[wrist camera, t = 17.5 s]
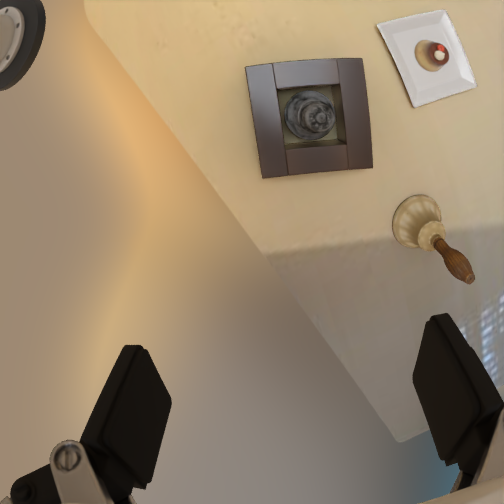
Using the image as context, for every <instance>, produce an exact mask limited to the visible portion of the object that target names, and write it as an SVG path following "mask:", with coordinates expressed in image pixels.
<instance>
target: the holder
mask: <svg viewBox="0 0 504 504" xmlns="http://www.w3.org/2000/svg"><path fill="white" fill-rule="evenodd" d="M245 71H246V77H247V83H248V90H249V96H250V102H251V109H252V115H253V121H254V128H255V134H256V141H257V148H258V154H259V161H260V168H261V175H262V179H264V178H272V177H281V176H288V175H289V176H290V175H299V174H308V173H318V172H329V171H340V170H348V169H349V170H353V169H367V168H373V158H372V142H371V129H370V118H369V107H368V98H367V90H366V82H365V74H364V67H363V60H362V58H337V59H336V58H333V59H312V60H298V61H287V62H277V63H273V64H272V63H269V64H261V65H253V66H246V67H245ZM323 86H332V94H333V101H334V109H335V116H336V117H335V118H336V128H337V138H338V140H324V141H313V142H302V143H292V144H284V137H283V130H282V122H281V115H280V108H279V101H278V95H277V90H286V89H297V88H308V87H323Z"/></svg>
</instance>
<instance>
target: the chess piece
mask: <svg viewBox="0 0 504 504" xmlns="http://www.w3.org/2000/svg"><path fill="white" fill-rule="evenodd" d="M284 116H285V122H286V124H287V126H288V128H289V129H290V130H291V132H292V133H294V134H295V135H296V136H298V137H300V138H302V139H307V140H315V139H319V138H322V137H324V136H325V135H326V134H328V133H329V132H330V130H331V129H332V128H333V125H334V123H335V117H336V116H335V109H334V107H333V104H332V103H331V101H330V100H329V99H328V98H327V97H326V96H325V95H323V94H321V93H319V92H317V91H311V90H308V91H302V92H299V93H297V94H295V95H294V96H293V97H291V99H290V100H289V101H288V102H287V105H286V107H285V113H284Z"/></svg>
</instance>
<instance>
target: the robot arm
mask: <svg viewBox="0 0 504 504" xmlns="http://www.w3.org/2000/svg"><path fill="white" fill-rule="evenodd" d="M24 29H25V22H24V16H23V14H22V12H21V11H20V10H19V9H18V8H15V7H5V8H3V9H1V10H0V73H1V72H3V71H4V70H5V69H6V68H7V67H8V66H9V65H10V64H11V62H12V61H13V59H14V58H15V56H16V54H17V52H18V50H19V48H20V45H21V43H22V39H23V35H24ZM413 384H414V387H415V389H416V392H417V395H418V397H419V400H420V403H421V405H422V408H423V411H424V414H425V416H426V419H427V422H428V425H429V428H430V431H431V434H432V437H433V440H434V443H435V446H436V449H437V452H438V455H439V457H440V459H441V460H445V463H446V466H449V465H452V464H455V463H458V466H459V469H460V472H459V474H458V477H457V479H456V481H455V483H454V485H453V487H452V489H451V491H450V493H449V494H447V495H445V496H442V497H439V498H436V499H432V500H429V501H426V502H422V503H419V504H504V402H503V400H502V399H501V397H500V395H499V393H498V391H497V389H496V387H495V385H494V383H493V382H492V380H491V378H490V376H489V375H488V373H487V371H486V369H485V368H484V366H483V364H482V363H481V361H480V359H479V358H478V356H477V354H476V353H475V351H474V350H473V348H472V347H470V346H469V345H468V343H467V341H466V340H465V338H464V337H463V335H462V333H461V332H460V330H459V329H458V327H457V326H456V324H455V323H454V321H453V320H452V318H451V317H450V315H449V314H448V313H444V314H439V315H434V316H431V318H430V320H429V321H427V322H426V324H425V329H424V333H423V337H422V341H421V346H420V350H419V353H418V357H417V361H416V365H415V368H414V372H413ZM171 405H172V402H171V397H170V395H169V393H168V391H167V389H166V387H165V385H164V383H163V381H162V379H161V377H160V375H159V373H158V371H157V369H156V367H155V365H154V363H153V361H152V359H151V357H150V354H149V352H148V351H147V350H146V349H144V348H143V347H142V346H141V345H125V346H124V347H123V349H122V351H121V353H120V355H119V357H118V359H117V361H116V363H115V365H114V367H113V369H112V371H111V373H110V375H109V377H108V379H107V381H106V383H105V386H104V388H103V390H102V392H101V394H100V396H99V398H98V400H97V403H96V405H95V407H94V409H93V411H92V413H91V416H90V418H89V420H88V423H87V425H86V427H85V429H84V432H83V434H82V436H81V439H80V442H77V441H74V440H66V441H62V442H61V443H59V444H57V446H55V447H54V449H53V450H52V452H51V455H50V464H48V465H46V466H44V467H42V468H40V469H38V470H35V471H34V472H31V473H29V474H27V475H25V476H23V477H21V478H19V479H17V480H16V481H15V482H14V484H13V485H12V488H11V493H10V495H11V498H9V497H8V496H7V497H5V498H4V499H3V500H2V501H1V502H0V504H136V502H135V500H134V499H133V497H132V495H131V493H132V489H133V487H135V488H140V489H146V486H147V483H150V482H151V481H152V477H153V473H154V469H155V465H156V462H157V458H158V454H159V450H160V446H161V442H162V439H163V435H164V431H165V427H166V424H167V420H168V416H169V413H170V409H171Z"/></svg>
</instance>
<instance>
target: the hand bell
mask: <svg viewBox="0 0 504 504" xmlns="http://www.w3.org/2000/svg"><path fill="white" fill-rule="evenodd" d="M392 227H393V233H394V236H395V238H396V239H397V241H398V242H399V243H400V244H402V245H404V246H406V247H409V248H418V247H420V248H421V249H423V250H425V251H434V250H437V251H438V252H439V253H440V254H441V255H442V257H443V259H444V262H445V265H446V267H447V268H448V270H449V271H450V273H451V274H452V275H453V276H454V277H456V278H457V279H459V280H461V281H464V282H465V283H467V284H471V283H473V281H474V280H475V275H474V273H473V271H472V267H471V265H470V263H469V261H468V259H467V258H466V257H465V256H464V255H463V254H462V253H460V252H459V251H457V250H455V249H452V248H451V247H449V245H448V244H447V243H446V242H445V241H444V239H445V235H446V232H445V228H444V226H443V224H442V223H441V212H440V209H439V206H438V205H437V203H436V202H435V201H434V200H433V199H432V198H430V197H428V196H425V195H415V196H412V197H410V198H408V199H406V200H405V201H404V202H403V203H402V204H401V205H400V206H399V207H398V209H397V210H396V212H395V215H394V218H393V225H392Z"/></svg>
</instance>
